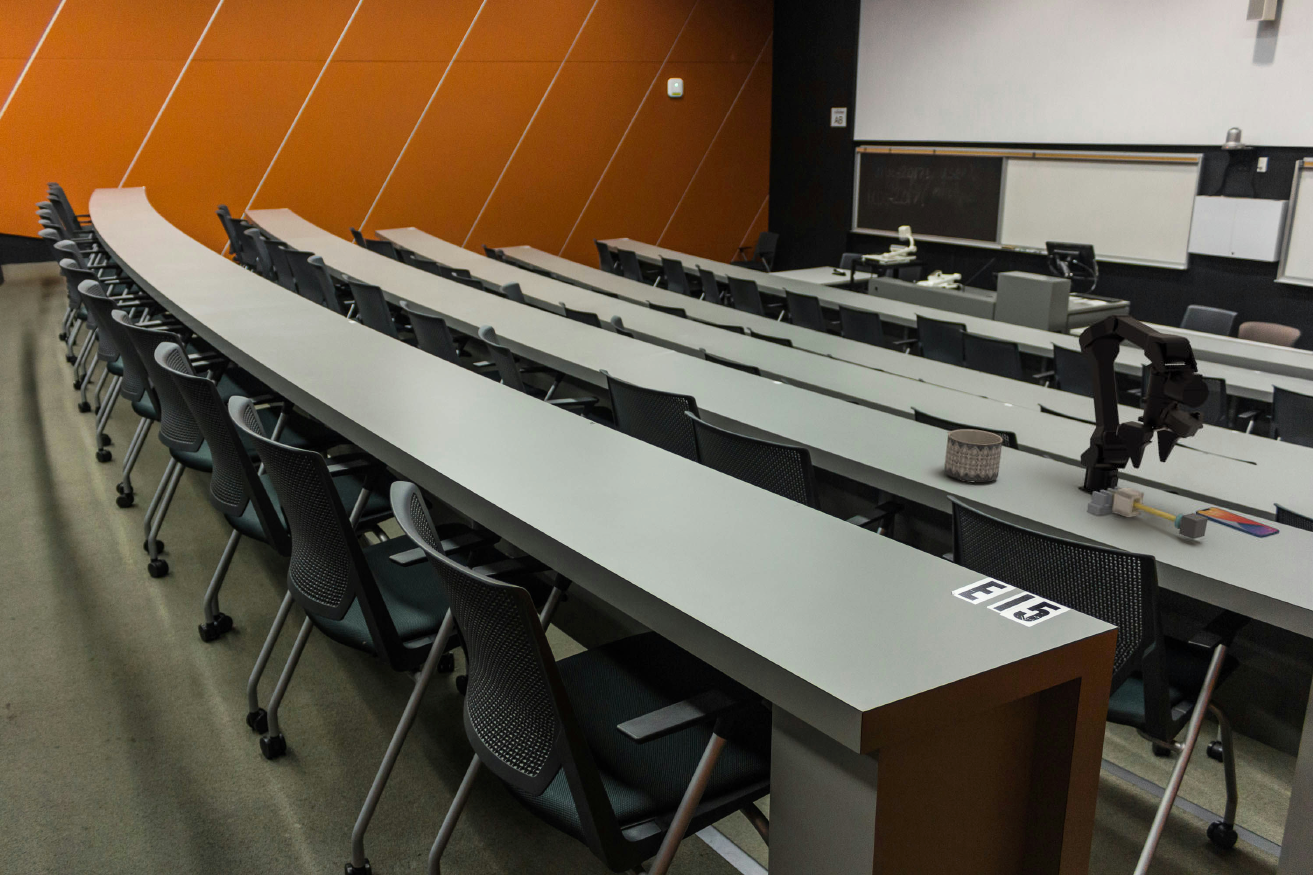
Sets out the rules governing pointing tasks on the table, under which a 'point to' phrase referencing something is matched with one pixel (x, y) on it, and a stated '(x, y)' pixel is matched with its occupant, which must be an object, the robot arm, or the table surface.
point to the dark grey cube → (1193, 525)
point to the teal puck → (1178, 521)
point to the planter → (973, 455)
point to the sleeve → (1127, 502)
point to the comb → (1102, 502)
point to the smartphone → (1237, 522)
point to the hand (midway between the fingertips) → (1149, 465)
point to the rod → (1153, 511)
